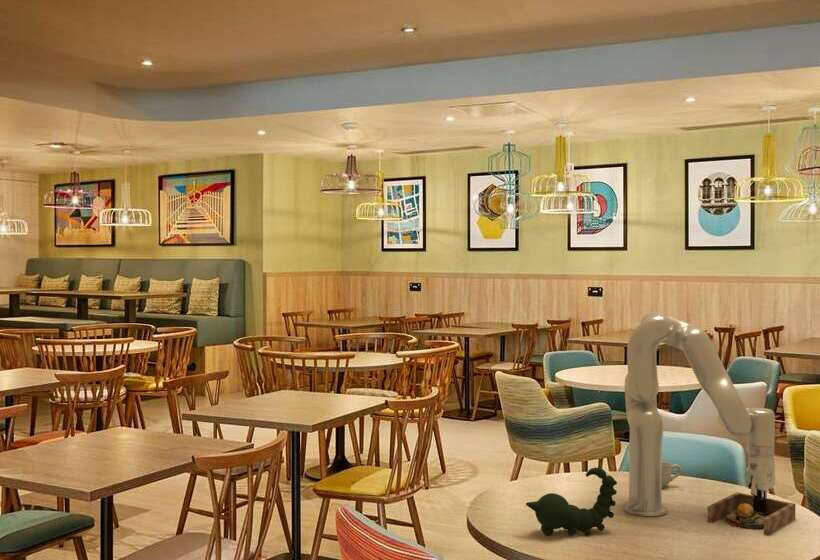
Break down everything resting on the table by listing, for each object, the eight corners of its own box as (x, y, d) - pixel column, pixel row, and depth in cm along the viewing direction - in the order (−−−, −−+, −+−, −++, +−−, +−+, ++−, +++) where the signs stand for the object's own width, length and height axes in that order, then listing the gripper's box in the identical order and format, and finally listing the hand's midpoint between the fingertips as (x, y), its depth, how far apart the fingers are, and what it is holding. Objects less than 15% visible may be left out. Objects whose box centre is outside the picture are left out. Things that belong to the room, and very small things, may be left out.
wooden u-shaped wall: (768, 535, 235) (768, 519, 235) (707, 521, 247) (707, 506, 247) (795, 519, 250) (795, 503, 249) (736, 506, 262) (736, 492, 262)
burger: (778, 528, 242) (779, 502, 242) (743, 532, 239) (744, 505, 239) (750, 515, 254) (750, 491, 253) (716, 519, 250) (717, 494, 250)
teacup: (635, 488, 282) (636, 464, 282) (640, 480, 292) (640, 457, 292) (679, 492, 277) (680, 468, 277) (682, 484, 287) (682, 460, 287)
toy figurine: (602, 531, 244) (517, 528, 239) (609, 464, 244) (523, 460, 239) (616, 542, 235) (528, 539, 230) (623, 472, 234) (535, 468, 230)
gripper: (763, 456, 244) (762, 520, 245) (783, 448, 255) (782, 508, 255) (737, 452, 249) (736, 514, 250) (757, 444, 260) (757, 503, 261)
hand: (759, 511), depth 253 cm, fingers closed
